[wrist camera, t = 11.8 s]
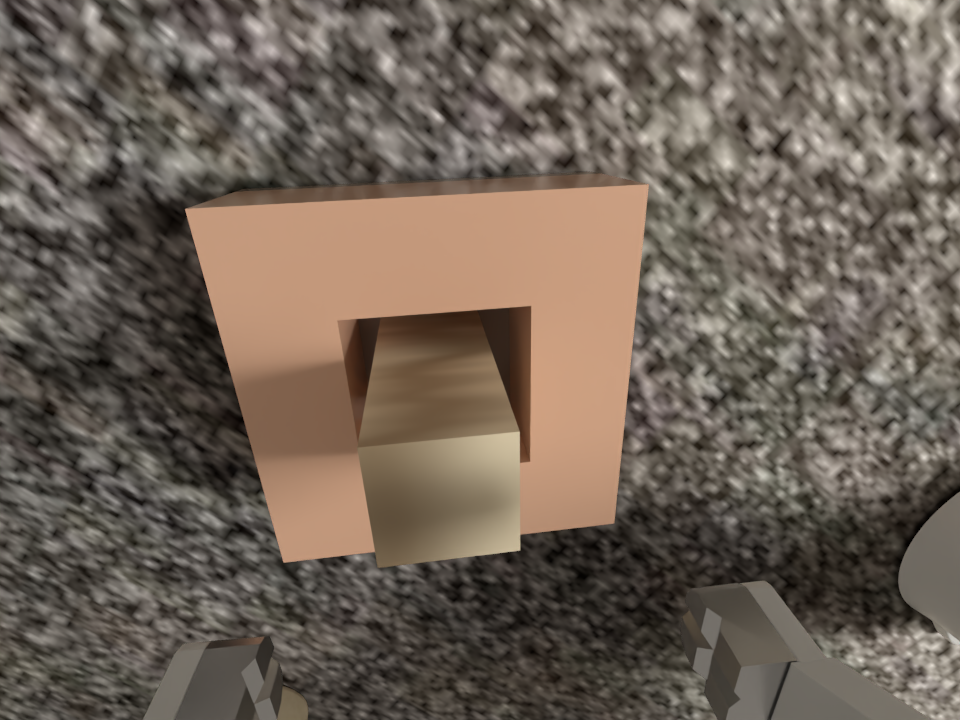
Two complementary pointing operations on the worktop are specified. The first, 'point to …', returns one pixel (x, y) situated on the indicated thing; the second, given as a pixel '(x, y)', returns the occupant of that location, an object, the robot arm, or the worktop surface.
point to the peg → (438, 443)
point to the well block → (424, 290)
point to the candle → (292, 706)
